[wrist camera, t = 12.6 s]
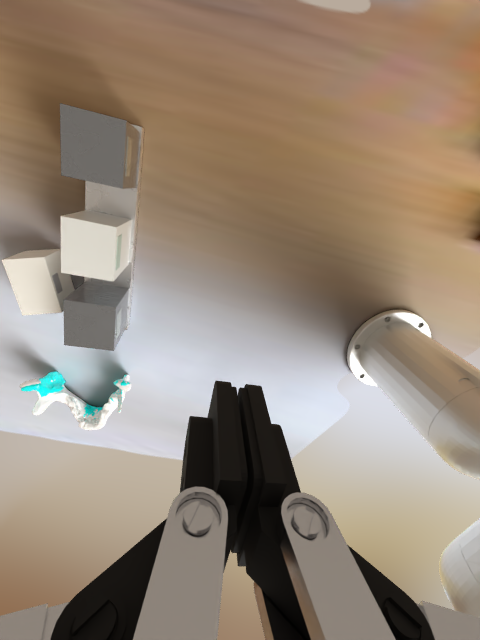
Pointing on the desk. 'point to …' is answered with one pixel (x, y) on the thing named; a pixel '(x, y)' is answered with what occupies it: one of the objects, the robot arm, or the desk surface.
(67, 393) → the jawbone
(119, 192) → the rail
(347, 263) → the desk surface
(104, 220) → the block
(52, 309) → the block
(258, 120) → the desk surface
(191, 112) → the desk surface
